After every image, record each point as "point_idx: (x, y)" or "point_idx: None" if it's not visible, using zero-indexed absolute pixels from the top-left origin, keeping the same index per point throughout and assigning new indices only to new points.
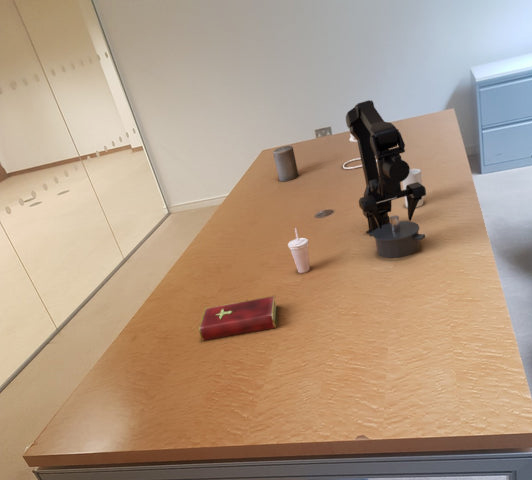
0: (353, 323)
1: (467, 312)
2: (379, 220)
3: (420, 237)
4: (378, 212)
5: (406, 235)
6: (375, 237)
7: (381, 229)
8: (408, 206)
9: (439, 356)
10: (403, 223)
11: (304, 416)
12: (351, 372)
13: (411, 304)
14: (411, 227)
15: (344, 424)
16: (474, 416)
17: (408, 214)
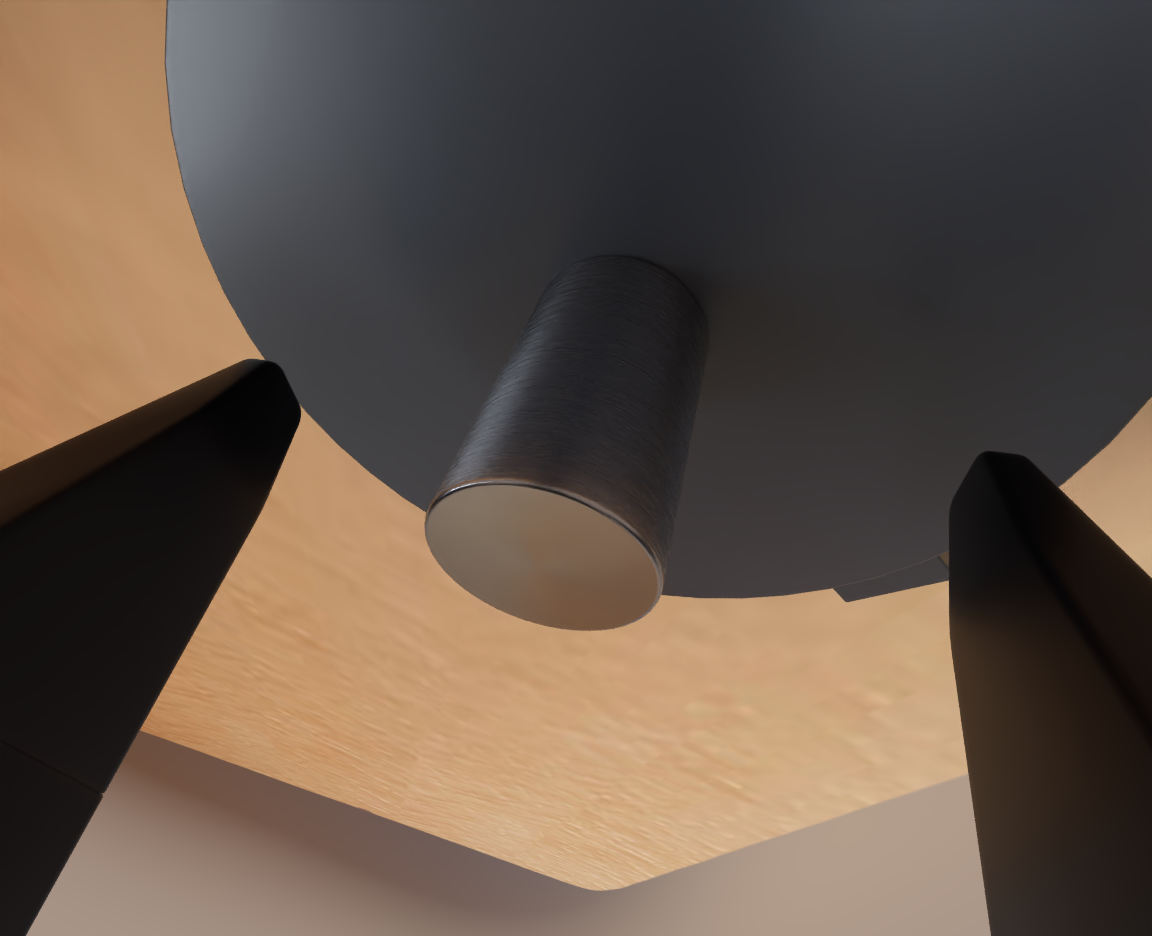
0: (309, 665)
1: (678, 801)
2: (172, 631)
3: (846, 595)
4: (36, 893)
5: (681, 576)
6: (261, 352)
7: (338, 64)
8: (1149, 885)
9: (530, 814)
10: (978, 81)
11: (260, 760)
12: (332, 752)
13: (525, 707)
14: (921, 432)
15: (335, 792)
16: (536, 863)
17: (1012, 588)
